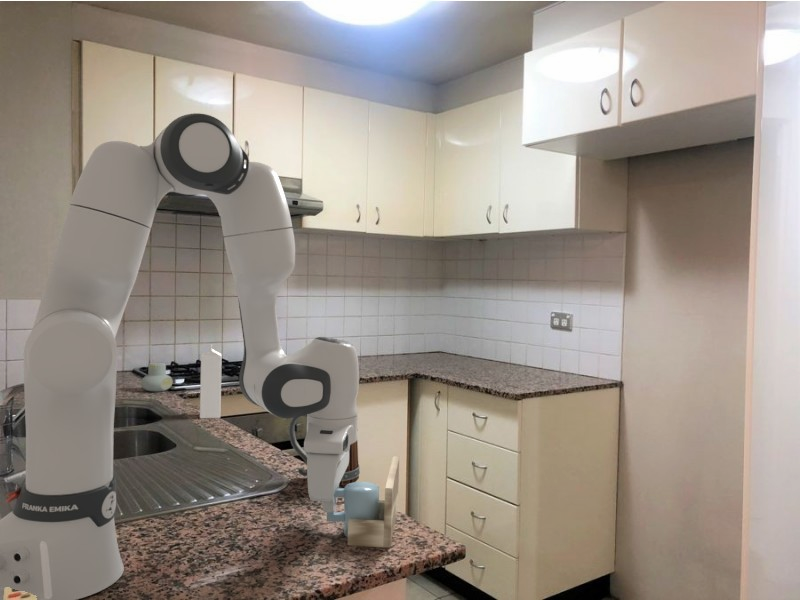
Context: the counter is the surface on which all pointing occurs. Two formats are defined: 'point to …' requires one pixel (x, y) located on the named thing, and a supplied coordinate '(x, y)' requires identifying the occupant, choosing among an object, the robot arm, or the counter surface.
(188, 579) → the counter surface
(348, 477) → the mug
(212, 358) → the milk
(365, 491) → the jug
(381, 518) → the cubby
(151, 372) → the air freshener
